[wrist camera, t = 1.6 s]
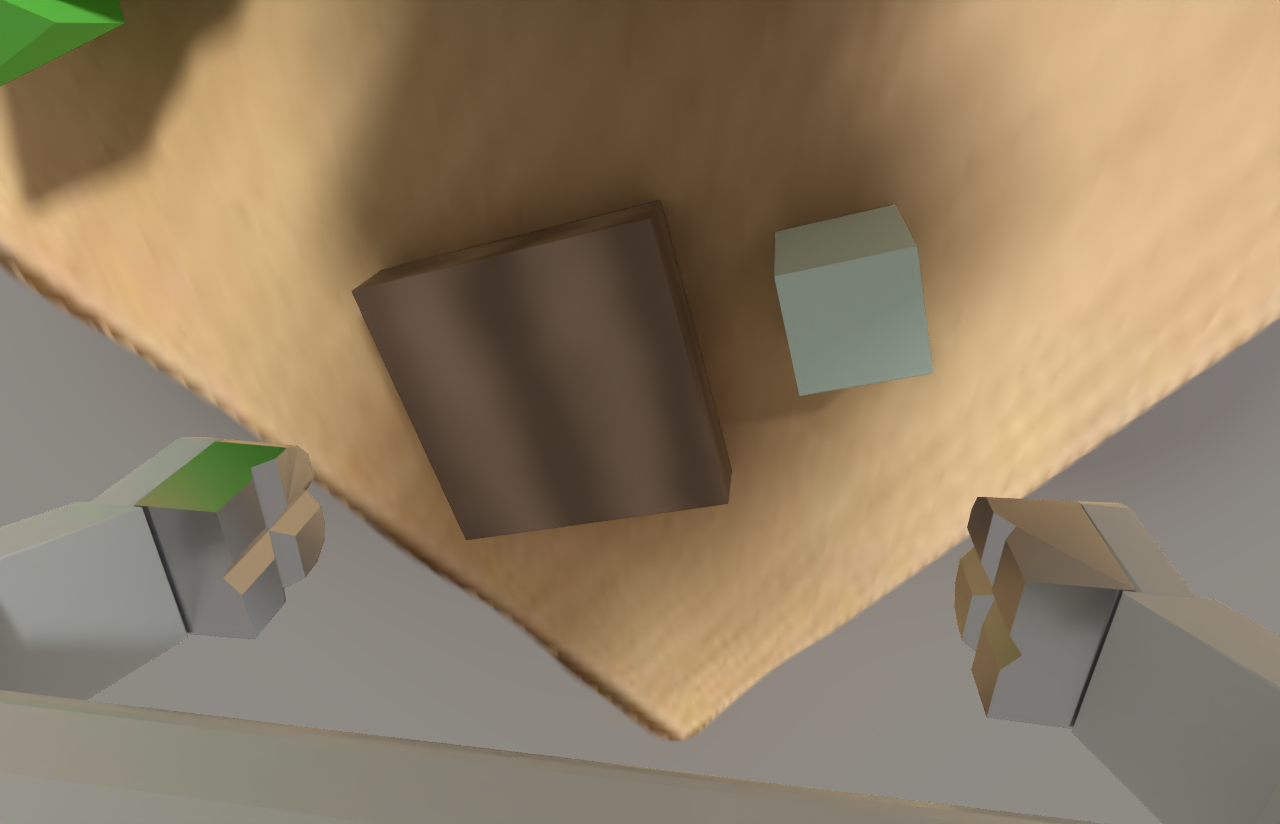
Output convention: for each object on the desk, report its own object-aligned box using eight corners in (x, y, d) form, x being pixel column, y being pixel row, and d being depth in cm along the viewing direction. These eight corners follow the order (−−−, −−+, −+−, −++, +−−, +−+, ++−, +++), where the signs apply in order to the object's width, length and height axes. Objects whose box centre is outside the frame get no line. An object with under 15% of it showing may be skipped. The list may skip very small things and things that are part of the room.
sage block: (895, 203, 32) (917, 245, 27) (910, 314, 34) (933, 373, 29) (775, 231, 34) (774, 276, 28) (796, 336, 36) (799, 395, 30)
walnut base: (660, 200, 34) (650, 218, 31) (731, 469, 40) (728, 503, 37) (381, 269, 37) (351, 291, 35) (484, 506, 43) (466, 540, 41)
